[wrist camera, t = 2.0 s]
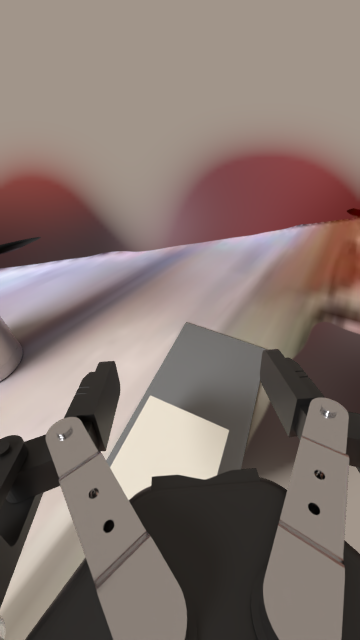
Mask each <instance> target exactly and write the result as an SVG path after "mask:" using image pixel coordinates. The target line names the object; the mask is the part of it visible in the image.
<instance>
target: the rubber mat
mask: <svg viewBox="0 0 360 640" xmlns="http://www.w3.org/2000/svg"><path fill="white" fill-rule="evenodd" d="M263 350H267V349H264V348H261V347H258V346H255V345H252V344H249V343H246V342H244V341H241V340H238V339H235V338H232V337H229V336H226V335H223V334H220V333H217V332H214V331H211V330H208V329H205V328H202V327H199V326H196V325H193V324H191V323H188V322H186V323H185V325H184V327H183V329H182V330H181V332H180V334H179V336H178V337H177V339H176V341H175V343H174V344H173V346H172V348H171V349H170V351H169V353H168V355H167V356H166V358H165V360H164V362H163V363H162V365H161V367H160V369H159V370H158V372H157V374H156V375H155V377H154V379H153V381H152V382H151V384H150V386H149V388H148V389H147V391H146V393H145V395H144V396H143V398H142V400H141V402H140V403H139V405H138V407H137V408H136V410H135V412H134V414H133V415H132V417H131V419H130V421H129V422H128V424H127V426H126V428H125V429H124V431H123V433H122V434H121V436H120V438H119V440H118V441H117V443H116V445H115V447H114V448H113V450H112V452H111V454H110V455H109V457H108V459H107V460H106V462H107V463H108V465H109V467H111V465H112V463H113V461H114V459H115V458H116V456H117V454H118V452H119V450H120V449H121V447H122V445H123V443H124V442H125V440H126V438H127V436H128V434H129V433H130V431H131V429H132V427H133V425H134V424H135V422H136V420H137V418H138V416H139V415H140V413H141V411H142V409H143V407H144V406H145V404H146V402H147V400H148V398H149V397H150V395H151V396H153V397H155V398H157V399H160V400H162V401H164V402H167V403H169V404H171V405H173V406H176V407H178V408H180V409H182V410H185V411H187V412H189V413H192V414H194V415H196V416H198V417H201V418H203V419H205V420H207V421H210V422H212V423H214V424H216V425H219V426H221V427H223V428H226V429H228V430H229V433H228V436H227V440H226V444H225V447H224V451H223V455H222V458H221V462H220V466H219V469H218V473H217V475H219V474H222V473H225V472H227V471H230V470H239V469H241V467H242V462H243V458H244V453H245V448H246V444H247V439H248V434H249V430H250V425H251V421H252V416H253V411H254V407H255V402H256V397H257V393H258V388H259V383H260V367H261V359H262V352H263Z"/></svg>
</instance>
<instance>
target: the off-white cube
mask: <svg viewBox="0 0 360 640" xmlns="http://www.w3.org/2000/svg"><path fill="white" fill-rule="evenodd" d="M228 433H229V430H228V429H226V428H223V427H221V426H219V425H216V424H214V423H212V422H210V421H207V420H205V419H203V418H201V417H198V416H196V415H194V414H192V413H189V412H187V411H185V410H182V409H180V408H178V407H176V406H173V405H171V404H169V403H167V402H164V401H162V400H160V399H157V398H155V397H153V396H151V395H150V397H149V398H148V400H147V402H146V404H145V406H144V407H143V409H142V411H141V413H140V415H139V416H138V418H137V420H136V422H135V424H134V425H133V427H132V429H131V431H130V433H129V434H128V436H127V438H126V440H125V442H124V443H123V445H122V447H121V449H120V450H119V452H118V454H117V456H116V458H115V459H114V461H113V463H112V465H111V467H110V469H111V470H112V472H113V474H114V476H115V477H116V479H117V481H118V483H119V484H120V486H121V488H122V490H123V491H124V493H125V495H126V497H127V498H128V500H130V499H131V498H132V497H133V496H134V495H135V494H137V493H138V492H140V491H141V490H143V489H145V488H147V487H149V486H151V482H152V477H154V476H166V475H182V476H187V477H193V478H198V479H209V478H211V477H214V476H217V473H218V469H219V466H220V462H221V458H222V455H223V451H224V447H225V444H226V440H227V436H228Z"/></svg>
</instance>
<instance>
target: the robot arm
mask: <svg viewBox="0 0 360 640" xmlns="http://www.w3.org/2000/svg"><path fill="white" fill-rule="evenodd" d="M22 355H23V350H22V347H21V345H20V343H19V342H18V340H17V339H16V338H15V336H14V335H13V334H12V332H11V331H10V329H9V328H8V326H7V325H6V324H5V322H4V321H3V319H2V318H1V317H0V381H2V380H3V379H4V378H6V377H7V376H9V375H10V374H11V373H12V372H13V371H14V370H15V368H16V367H17V366H18V365H19V363H20V361H21V358H22ZM260 380H261V383H262V386H263V388H264V390H265V391H266V393H267V395H268V397H269V399H270V401H271V403H272V405H273V407H274V409H275V411H276V413H277V415H278V417H279V419H280V421H281V423H282V425H283V427H284V429H285V431H286V432H287V435H288V436H289V437H294V436H298V438H299V439H300V444H299V448H298V452H297V455H296V459H295V463H294V467H293V471H292V475H291V478H290V483H289V486H288V490H286V489H285V488H283V487H282V486H280V485H278V484H276V483H275V482H272V481H270V480H267V479H264V478H260V477H259V476H258V473H257V470H256V468H252V469H239V470H230V471H227V472H225V473H222V474H219V475H217V476H214V477H211V478H209V479H198V478H193V477H187V476H182V475H166V476H154V477H152V482H151V486H149V487H147V488H145V489H143V490H141V491H140V492H138V493H137V494H135V495H134V496H133V497H132V498H131V499H130V500H128V498H127V497H126V495H125V493H124V491H123V490H122V488H121V486H120V484H119V483H118V481H117V479H116V477H115V476H114V474H113V472H112V470H111V469H110V467H109V465H108V463H107V462H106V460H105V458H104V456H103V455H102V453H101V452H100V451H106V448H107V444H108V440H109V436H110V432H111V428H112V424H113V420H114V416H115V412H116V408H117V404H118V400H119V396H120V382H119V377H118V373H117V369H116V364H115V362H114V361H108V362H99V364H98V366H97V368H96V371H95V372H90V373H89V374H87V375H86V376H85V377H84V378H83V379H82V382H81V384H80V386H79V388H78V390H77V392H76V395H75V396H74V398H73V400H72V402H71V405H70V407H69V409H68V411H67V413H66V415H65V417H64V419H61V420H59V421H58V422H56V423H55V424H54V425H53V426H51V428H50V429H49V430H48V432H47V434H46V435H43V436H40V437H37V438H35V439H32V440H29V441H26V442H24V441H23V439H22V438H21V437H20V436H17V435H11V436H7V437H4V438H2V439H0V607H1V605H2V602H3V599H4V597H5V594H6V591H7V589H8V586H9V583H10V581H11V578H12V575H13V573H14V570H15V567H16V564H17V562H18V559H19V556H20V554H21V551H22V548H23V546H24V543H25V540H26V538H27V535H28V532H29V530H30V527H31V524H32V522H33V519H34V516H35V514H36V511H37V508H38V506H39V503H40V500H41V497H42V495H43V492H46V491H48V490H51V489H53V488H55V487H58V486H61V489H62V492H63V494H64V497H65V500H66V503H67V506H68V509H69V512H70V514H71V517H72V520H73V523H74V526H75V529H76V531H77V534H78V537H79V540H80V543H81V546H82V548H83V551H84V554H85V559H84V560H83V562H82V563H81V564H80V566H79V567H78V568H77V570H76V571H75V572H74V574H73V575H72V576H71V578H70V579H69V581H68V582H67V583H66V585H65V586H64V587H63V589H62V590H61V591H60V593H59V594H58V596H57V597H56V598H55V600H54V601H53V602H52V604H51V605H50V606H49V608H48V609H47V610H46V612H45V613H44V615H43V616H42V617H41V619H40V620H39V621H38V623H37V624H36V625H35V627H34V628H33V629H32V631H31V632H30V634H29V635H28V636H27V638H26V639H25V640H360V554H359V553H358V552H357V551H356V550H355V549H354V548H353V547H351V546H350V545H349V544H348V543H347V542H346V541H345V540H344V535H345V520H346V504H347V487H348V473H349V472H348V471H349V465H351V466H355V467H356V468H357V469H358V471H359V472H360V414H358V413H352V412H348V411H346V409H345V408H344V407H343V406H342V405H341V404H339V403H338V402H336V401H334V400H331V399H328V398H325V397H324V396H323V394H322V393H321V392H320V391H319V390H318V388H317V387H316V386H315V384H314V383H313V382H312V381H311V379H310V378H308V376H307V375H306V373H305V372H304V371H303V369H302V368H301V367H300V365H299V364H298V363H296V362H295V361H293V360H292V359H290V358H285V357H284V356H283V355H282V353H281V352H280V351H279V350H278V349H274V350H263V352H262V359H261V367H260ZM98 451H99V452H98ZM0 640H5V622H4V620H3V618H2V617H1V616H0Z"/></svg>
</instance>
